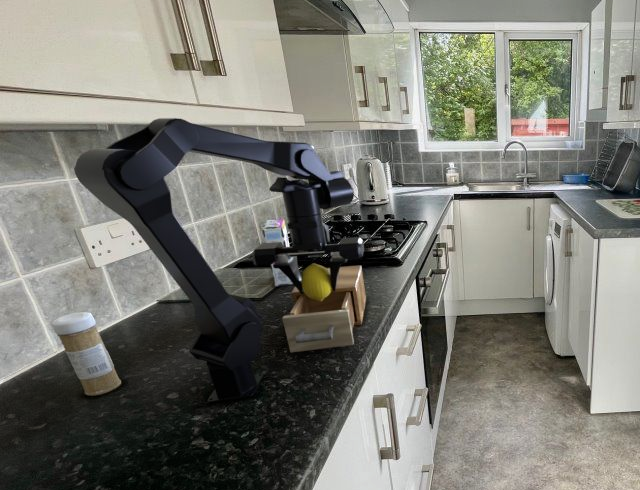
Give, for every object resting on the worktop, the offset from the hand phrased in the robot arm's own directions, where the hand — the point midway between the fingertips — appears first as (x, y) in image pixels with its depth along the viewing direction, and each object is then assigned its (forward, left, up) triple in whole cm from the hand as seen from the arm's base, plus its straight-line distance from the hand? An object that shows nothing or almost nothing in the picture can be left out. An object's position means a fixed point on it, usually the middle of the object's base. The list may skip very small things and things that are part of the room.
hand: (319, 292), depth 81 cm
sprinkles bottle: (-9, +34, -11) cm, 37 cm away
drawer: (-2, 0, -9) cm, 10 cm away
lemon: (0, 0, -2) cm, 2 cm away
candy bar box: (+40, +17, -11) cm, 44 cm away
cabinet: (+12, 0, -10) cm, 15 cm away
